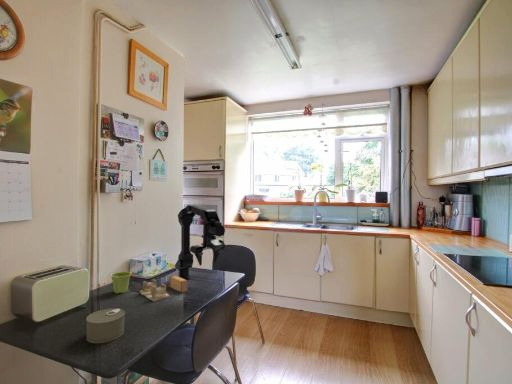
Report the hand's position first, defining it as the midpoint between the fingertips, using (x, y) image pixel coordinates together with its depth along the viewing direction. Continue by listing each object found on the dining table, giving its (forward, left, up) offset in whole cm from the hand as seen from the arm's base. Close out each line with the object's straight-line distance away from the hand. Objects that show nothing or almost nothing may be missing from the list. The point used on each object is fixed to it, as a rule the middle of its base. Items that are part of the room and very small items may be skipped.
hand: (207, 263), depth 140 cm
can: (+11, -52, -14) cm, 55 cm away
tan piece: (-13, -23, -14) cm, 29 cm away
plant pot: (-29, -33, -14) cm, 46 cm away
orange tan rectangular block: (-13, -10, -14) cm, 21 cm away
